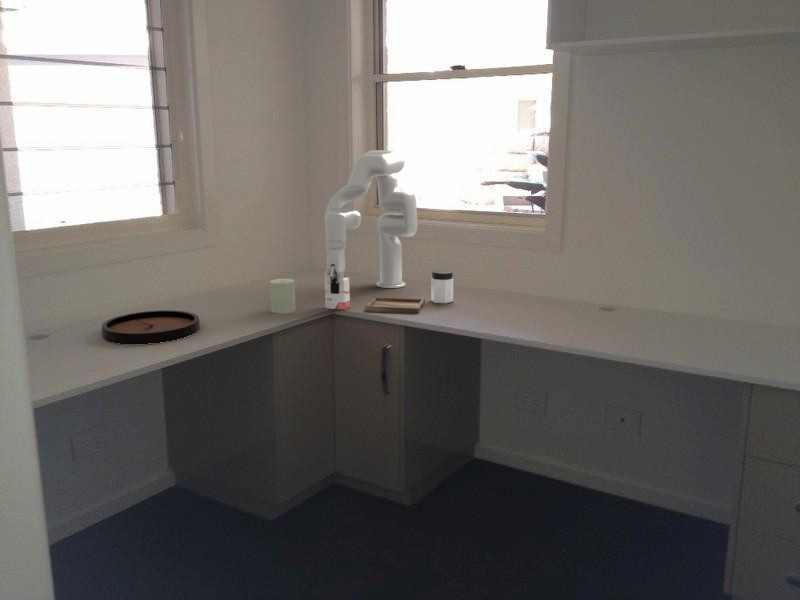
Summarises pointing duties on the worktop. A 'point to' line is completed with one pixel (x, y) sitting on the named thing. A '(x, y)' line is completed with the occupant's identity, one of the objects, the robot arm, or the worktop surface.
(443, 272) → the jar
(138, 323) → the wall clock
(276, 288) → the can
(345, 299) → the ink cartridge box
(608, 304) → the worktop surface
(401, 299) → the tray
